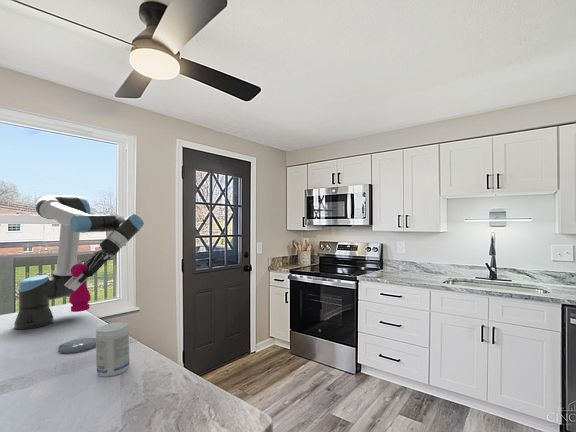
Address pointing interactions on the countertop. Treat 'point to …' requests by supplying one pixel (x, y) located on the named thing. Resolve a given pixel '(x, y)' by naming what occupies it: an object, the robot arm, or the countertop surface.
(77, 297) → the pepper mill
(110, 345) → the supplement tub
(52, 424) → the countertop surface
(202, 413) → the countertop surface
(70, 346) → the saucer
